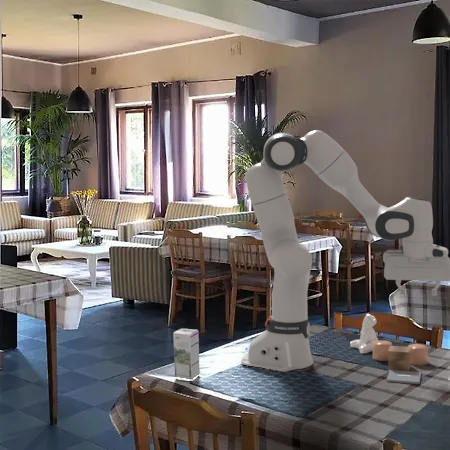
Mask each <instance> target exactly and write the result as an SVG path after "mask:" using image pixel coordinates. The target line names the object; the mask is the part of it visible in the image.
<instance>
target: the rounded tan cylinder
mask: <svg viewBox="0 0 450 450" xmlns="http://www.w3.org/2000/svg"><path fill="white" fill-rule="evenodd" d="M390 346H393V343H392V342H391V341H389V340H381V339H380V340H379V339H378V340H377V341H373V342H372V348H373V351H372V359H373V360H375V361H378V362H379V361H380V362H388V351H389V348H390Z"/></svg>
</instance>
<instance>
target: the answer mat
mask: <svg viewBox="0 0 450 450" xmlns="http://www.w3.org/2000/svg"><path fill="white" fill-rule="evenodd" d="M421 377H422V372H421V371H411V370H409V371H398V370H388V374H387V377H386V382H388V383H389V382H390V383H398V384H399V383H401V384H411V385H412V384H413V385H420V383H421Z"/></svg>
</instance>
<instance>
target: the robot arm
mask: <svg viewBox="0 0 450 450" xmlns="http://www.w3.org/2000/svg"><path fill="white" fill-rule="evenodd" d="M302 164H304V165H306V166H308V167H309V168H310V169H311V170H312V171H313V173H315V175H317V177H318V178H319V179H320V180H321V181H322V182H323V183H324V184H326V185H327V186H328V187H330V188H331V189H333V190H334V191H336V192H337V193H340V194H341V195H342V196H343V197H345V198H346V200H348V201H349V203H350V204H351V205H352V206H353V207H354V208H355V209H356V210H357V211H358V212H359V213H360V215H361V217H362V218H363V221H364V225H365V227H366V229H367V231H368V232H369V234H371V235H372V236H374V237H376V238H378V239H379V238H380V239H382V240H384V241H388V242H389V241H390V242H391V241H398V240H401V239H402V249H388V250H385V251H384V252H383V254H382V262H383V263H384V269H383V277H384V278H385V280H387V281H388V280H389V281H390V280H391V281H393V280H394V281H395V284H396V286H397V288H398V289H399V295H405V287H402V285H401V282H402V281H422V282H423V281H428V282H431V281H432V282H435V285H436V286H435V287H434V288H431V296H436V297H437V294H438V293H437V292H438V291H437V290H439V287H440V286H441V282H450V257H449V256H448V255H449V249H448V248H447V247H445V246H441V245H437V244H434V239H433V234H432V230H433V227H434V218H433V217H434V216H433V208H432V204H431V202H430V201H429V200H428V199H426V198H421V197H417V196H416V197H415V196H406V197H404V199H402V200H401V201H399V202H398V203H396V204H394V205H392V206H390V207H388V206H386V205H383V204H382V203H380V202H378V201H377V200H376V199H375V198H374V197H373V195H372V194H371V193H370V192H369V191H368V190H367V189H366V188H365V187H364V186H363V184H362V182H361V181H360V179H359V174H358V173H359V172H358V170H359V169H358V167H357V165H356V163H355V161H354V160H353V158H352V157H351V156H350V155H349V153H348V152H347V151H346V150H345V148H343V147H342V146H341V145H340V144H339V143H338V142H337V141H336V140H335V139H334V138H332V137H331V136H330V135H328V134H327V133H326V132H324V131H322V130H321V129H320V130H319V129H315V130H312V131H309V132H307V133H306V134H305V135H304V136H303V137H301V138H299V137H296V136H293V135H292V134H291V133H288V132H276V133H274V134H272V135H271V136H270V137H268V139H267V140H266V141H265V143H264V145H263V152H262V158H261V161H260V162H258V163H255V164H254V165H252V166H250V167H249V168H248V170H247V171H246V173H245V179H246V180H245V181H246V187H247V192H248V195H249V196H248V197H249V201H250V203H251V207H252V208H253V212H254V214H255V218H256V221H257V224H258V226H259V230H260V234H261V239H262V241H263V246H264V250H265V253H266V257H267V261H268V263H269V265H270V266H271V267H272V268H273V271H274V276H273V285H272V291H271V315H269V317H267V320H266V321H265V323H264V324H265V325H264V326H265V328H266V329H265V330H264V331H263V332H261V333H260V334H258V336H256V337H255V338H254V339H253V340H251V342H250V343H249V347H248V352H247V353H246V354H244V356H243V357H242V358H241V361H240V362H241V363H242V364H244V365H250V366H255V367H262V368H266V369H265V370H269V369H271V370H270V371H276V370H277V372H284V373H285V372H290V371H293V370H300V369H301V370H302V369H305V368H308V367H310V366H313V364H314V359H313V357H312V352H311V345H310V339H309V337H310V320H309V317H308V293H309V292H308V289H309V283H310V278H311V277H310V275H311V269H312V265H313V258H312V255H311V253H310V250H309V249H308V247H306V245H304V244H303V243H301V242H300V241H299V236H298V233H297V229H296V224H295V216H294V212H293V209H292V206H291V203H290V199H289V198H288V194H287V191H286V188H285V186H284V183H283V173H284V172H286V171H290V170H292V169H294V168H296V167H298V166H300V165H302ZM242 364H241V365H242ZM255 367H254V368H255ZM262 368H261V369H262Z"/></svg>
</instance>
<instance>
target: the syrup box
mask: <svg viewBox="0 0 450 450" xmlns="http://www.w3.org/2000/svg"><path fill="white" fill-rule="evenodd" d="M172 336H173V339H172V340H173V357H174V358H173V359H174V360H173V361H174V364H173V365H174V378H175V377H180V378H186V379H193V378H194V377H196V376H197V375H199V374H200V375H201V372H200V371H201V370H200V369H201V368H200V353H199V352H200V347H199V346H200V345H199V343H200V341H199V340H200V339H199V338H200V337H199V330H198V329H190V328H178V330H175V331H174V332H173V335H172Z"/></svg>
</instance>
